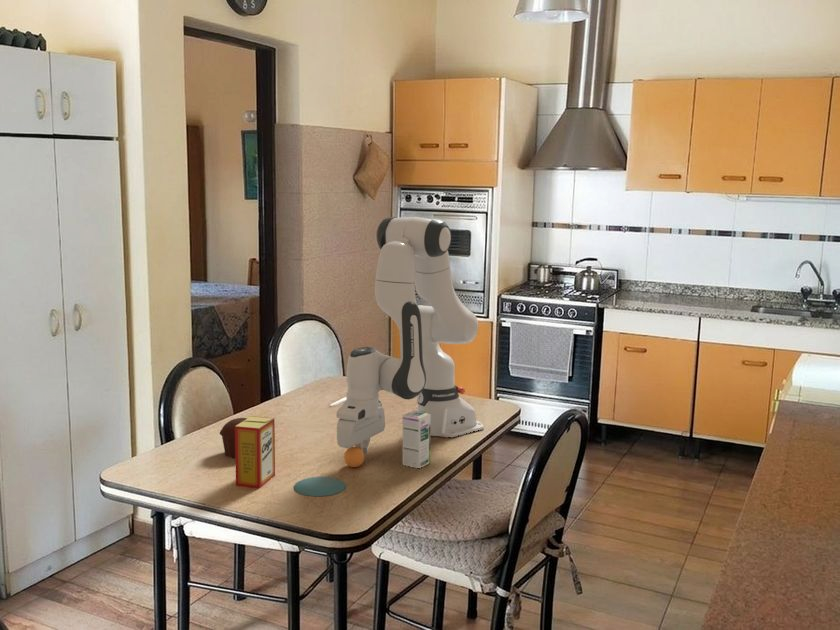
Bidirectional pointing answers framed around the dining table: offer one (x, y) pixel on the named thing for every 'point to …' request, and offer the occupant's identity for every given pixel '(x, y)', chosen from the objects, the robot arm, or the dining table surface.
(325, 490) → the teal plate
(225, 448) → the muffin
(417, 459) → the syrup box
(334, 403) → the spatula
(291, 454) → the dining table surface
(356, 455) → the ball
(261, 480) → the baking soda box
